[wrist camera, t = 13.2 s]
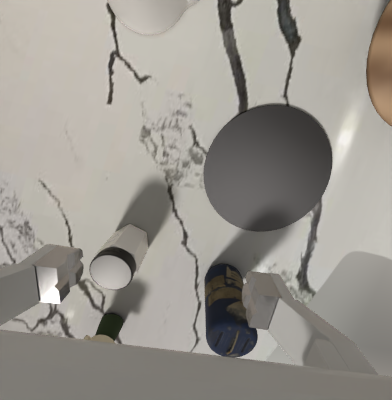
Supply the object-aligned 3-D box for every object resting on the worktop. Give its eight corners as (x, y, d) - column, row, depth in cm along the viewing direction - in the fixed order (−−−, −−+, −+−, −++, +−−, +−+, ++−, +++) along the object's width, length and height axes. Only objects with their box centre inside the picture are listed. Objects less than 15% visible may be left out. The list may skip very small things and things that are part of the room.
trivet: (216, 94, 37) (216, 94, 37) (351, 117, 38) (353, 117, 38) (194, 221, 46) (194, 222, 45) (306, 238, 47) (306, 238, 46)
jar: (136, 218, 46) (115, 245, 35) (156, 244, 48) (142, 278, 37) (107, 235, 47) (77, 267, 36) (127, 260, 50) (105, 297, 38)
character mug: (92, 310, 55) (60, 361, 43) (112, 302, 54) (86, 351, 42) (113, 336, 58) (90, 390, 46) (133, 328, 57) (115, 381, 45)
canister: (248, 271, 50) (273, 342, 33) (227, 296, 53) (241, 374, 36) (216, 255, 49) (225, 320, 32) (197, 281, 51) (196, 354, 34)
